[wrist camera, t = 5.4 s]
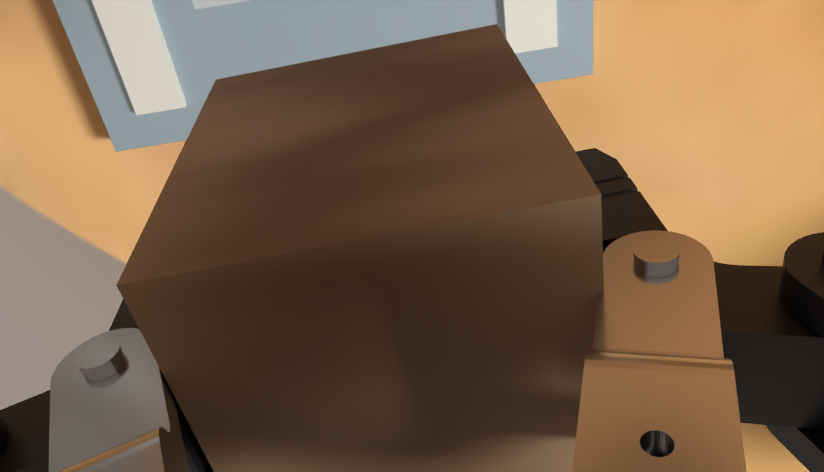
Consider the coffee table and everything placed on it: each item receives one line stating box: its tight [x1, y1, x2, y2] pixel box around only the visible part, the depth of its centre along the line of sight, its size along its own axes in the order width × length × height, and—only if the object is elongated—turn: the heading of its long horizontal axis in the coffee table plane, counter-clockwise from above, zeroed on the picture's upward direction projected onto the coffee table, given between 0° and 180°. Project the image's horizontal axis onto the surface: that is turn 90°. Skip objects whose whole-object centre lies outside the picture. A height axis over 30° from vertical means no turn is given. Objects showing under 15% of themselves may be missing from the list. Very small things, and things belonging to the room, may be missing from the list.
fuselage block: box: [117, 24, 604, 472], centre depth 11 cm, size 5×5×6 cm
